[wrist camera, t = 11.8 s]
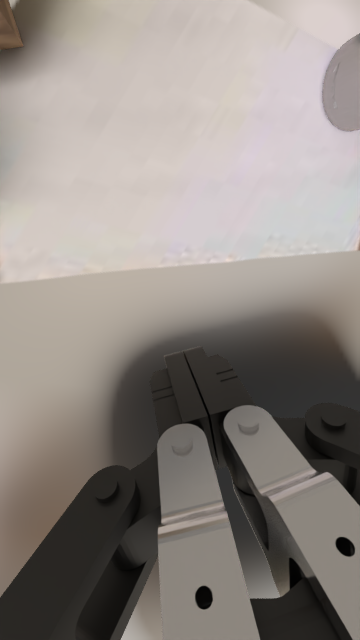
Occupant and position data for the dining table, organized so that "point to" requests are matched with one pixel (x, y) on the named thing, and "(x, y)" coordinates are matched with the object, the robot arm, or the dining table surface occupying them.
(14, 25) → the mount
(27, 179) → the dining table surface
